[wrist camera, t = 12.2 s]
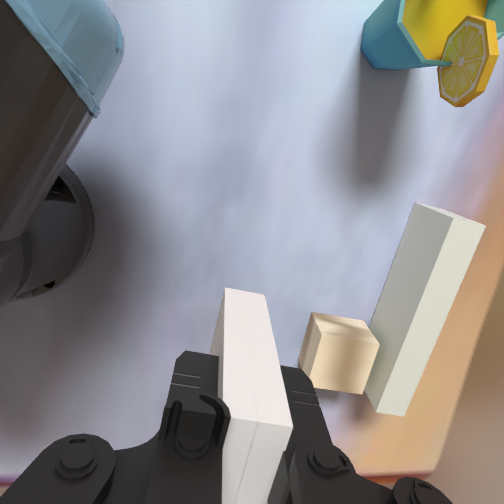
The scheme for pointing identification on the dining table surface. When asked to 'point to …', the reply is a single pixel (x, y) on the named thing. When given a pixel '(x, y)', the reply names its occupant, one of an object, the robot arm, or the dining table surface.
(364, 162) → the dining table surface
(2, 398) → the dining table surface
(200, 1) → the dining table surface
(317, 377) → the birch block
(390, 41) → the cup
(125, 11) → the dining table surface
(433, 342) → the board
